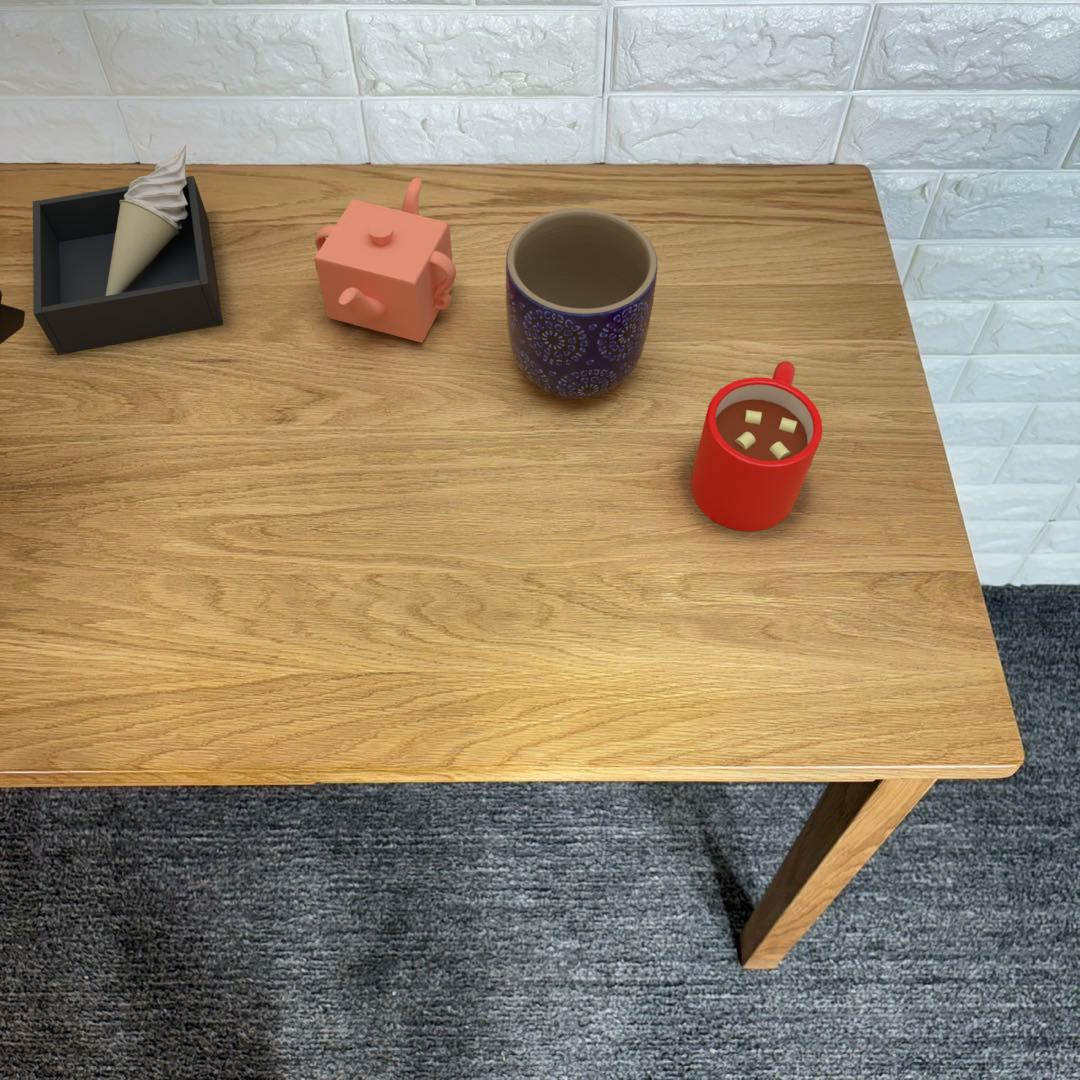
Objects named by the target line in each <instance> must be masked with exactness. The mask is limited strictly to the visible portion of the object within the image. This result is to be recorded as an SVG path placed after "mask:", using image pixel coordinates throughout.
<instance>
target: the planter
mask: <svg viewBox="0 0 1080 1080" xmlns="http://www.w3.org/2000/svg"><path fill="white" fill-rule="evenodd" d="M657 275H658V256H657V252H656V249H655V247H654V245H653V243H652V241H651V240H650V239H649V237H648V236H647V235H646V234H645V232H644V231H642V230H641V229H640V228H639V227H638V226H636V224H634V223H632V222H631V221H629V220H627V219H626V218H623V217H622V216H619V215H617V214H614V213H611V212H608V211H604V210H600V209H594V208H587V207H586V208H583V207H582V208H581V207H577V208H576V207H574V208H573V207H572V208H563V209H559V210H558V209H557V210H554V211H551V212H548V213H545V214H542V215H540V216H538V217H536V218H534V219H532V220H531V221H529V222H527V223H526V224H524V225H523V226H522V227H521V228H520V229H519V230H518V231H517V232H516V233H515V235H514V236H513V237H512V239H511V241H510V243H509V246H508V248H507V251H506V257H505V304H506V305H505V306H506V307H505V308H506V321H507V323H506V325H507V331H508V332H507V333H508V339H509V344H510V349H511V353H512V355H513V358H514V361H515V363H516V365H517V366H518V368H519V369H520V371H521V372H522V373H523V375H524V376H525V377H526V378H527V379H528V380H529V381H530V382H531V383H532V384H534V385H535V386H536V387H538V389H541V391H544V392H546V393H548V394H550V395H553V396H557V397H559V398H564V399H571V400H582V399H583V400H584V399H590V398H594V397H598V396H601V395H604V394H606V393H608V392H610V391H612V390H613V389H615V388H617V387H618V386H620V385H621V384H622V383H623V382H624V381H625V380H626V379H627V378H628V377H629V376H630V375H631V374H632V373H633V372H634V371H635V368H636V367H637V365H638V363H639V361H640V359H641V357H642V355H643V350H644V348H645V344H646V340H647V337H648V333H649V328H650V321H651V316H652V310H653V306H654V298H655V292H656V285H657Z"/></svg>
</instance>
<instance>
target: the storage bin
mask: <svg viewBox="0 0 1080 1080" xmlns="http://www.w3.org/2000/svg"><path fill="white" fill-rule="evenodd" d="M185 178H186V182H187V184H186V185H185V186H184V187H183V189H182V190H183V194H184V196H185V199H186V201H187V203H188V205H186V206H185V209H186V211H187V214H188V216H187V217H186V218H185V219H183V220H180V221H181V225H182V228H181V229H178V231H179V234H178V235H175V236H174V237H173V238H172V239H171V240H170V242H169V243H168V244H167V245H166V246H165V247H164V248H163V249H162V250H161V251H160V252H159V253H158V254H157V256H156V257H155V258H154V259H153V260H152V261H151V262H150V263H149V264H148V266H147V267H146V268H145V269H144V270H143V271H142V272H141V273H140V274H139V275H138V276H137V277H136V279H135V280H134V281H133V282H132V283H131V284H130V285H129V286H128V287H127V288H126V289H125V290H124V291H123V293H119V294H114V295H108V296H106V290H107V284H108V277H109V271H110V265H111V259H112V252H113V246H114V240H115V234H116V229H117V223H118V216H119V210H120V203H119V201H120V200H125V199H124V195H125V194H126V193H127V192H128V189H129V186H130V185H126V186H119V187H114V188H109V189H101V190H96V191H88V192H83V193H76V194H70V195H63V196H57V197H51V198H45V199H38V200H33V201H32V272H33V273H32V289H33V291H32V292H33V293H32V295H33V298H32V300H33V309H32V311H33V315H34V317H35V319H36V321H37V323H38V324H39V325H40V327H41V329H42V331H43V332H44V334H45V336H46V337H47V339H48V341H49V342H50V345H51V346H52V348H53V349H54V352H55V353H56V354H57V355H62V354H67V353H72V352H78V351H85V350H89V349H95V348H99V347H104V346H110V345H111V346H112V345H116V344H122V343H127V342H133V341H138V340H139V341H140V340H144V339H150V338H156V337H161V336H167V335H173V334H177V333H182V332H188V331H194V330H200V329H204V328H205V329H206V328H210V327H215V326H221V325H224V322H223V315H222V308H221V307H222V306H221V300H220V292H219V285H218V279H217V278H218V277H217V272H216V265H215V257H214V250H213V243H212V236H211V229H210V222H209V217H208V213H207V211H206V208H205V204H204V202H203V199H202V196H201V193H200V191H199V187H198V185H197V182H196V179H195V175H188V176H185Z"/></svg>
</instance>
